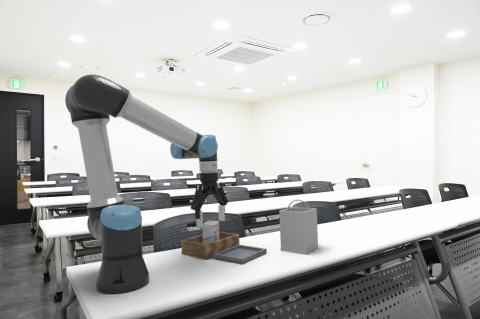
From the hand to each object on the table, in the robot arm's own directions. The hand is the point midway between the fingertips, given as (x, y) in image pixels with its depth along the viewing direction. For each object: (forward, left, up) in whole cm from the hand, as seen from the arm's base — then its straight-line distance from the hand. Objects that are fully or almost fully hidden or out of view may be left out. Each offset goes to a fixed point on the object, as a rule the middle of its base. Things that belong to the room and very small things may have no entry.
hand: (211, 223), depth 133 cm
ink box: (0, 0, -11) cm, 11 cm away
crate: (0, 0, -11) cm, 11 cm away
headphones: (+20, -30, -11) cm, 38 cm away
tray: (0, -15, -11) cm, 19 cm away
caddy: (+20, -30, -11) cm, 38 cm away
